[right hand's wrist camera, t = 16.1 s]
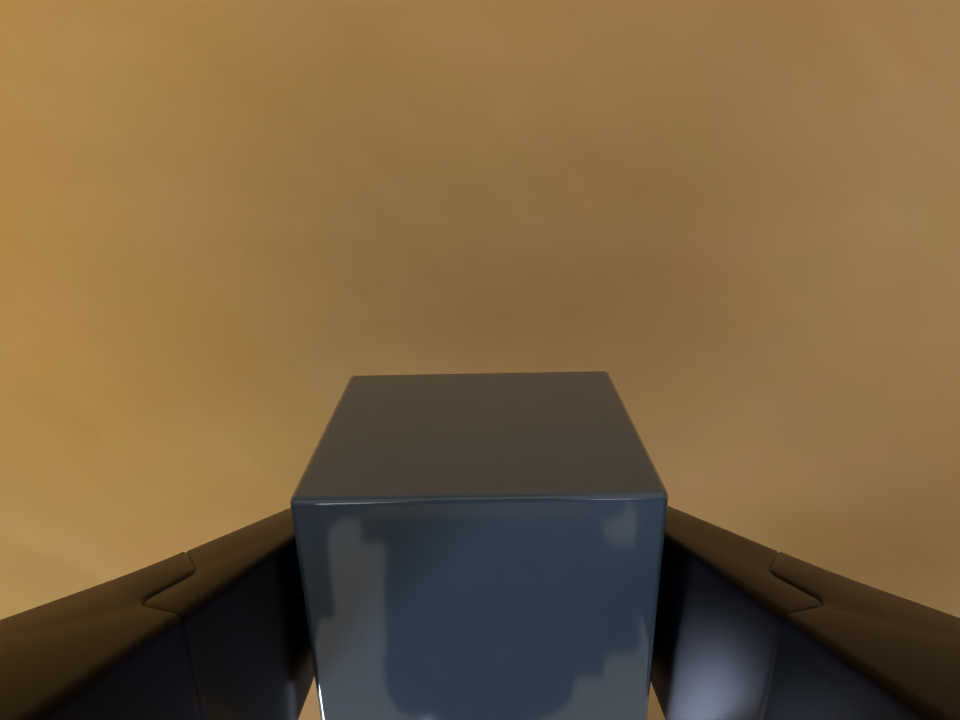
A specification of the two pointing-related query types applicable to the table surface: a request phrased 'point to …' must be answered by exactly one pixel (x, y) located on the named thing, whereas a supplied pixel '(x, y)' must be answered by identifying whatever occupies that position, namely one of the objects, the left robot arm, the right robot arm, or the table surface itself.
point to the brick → (481, 550)
